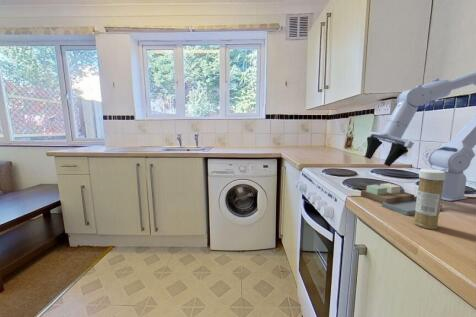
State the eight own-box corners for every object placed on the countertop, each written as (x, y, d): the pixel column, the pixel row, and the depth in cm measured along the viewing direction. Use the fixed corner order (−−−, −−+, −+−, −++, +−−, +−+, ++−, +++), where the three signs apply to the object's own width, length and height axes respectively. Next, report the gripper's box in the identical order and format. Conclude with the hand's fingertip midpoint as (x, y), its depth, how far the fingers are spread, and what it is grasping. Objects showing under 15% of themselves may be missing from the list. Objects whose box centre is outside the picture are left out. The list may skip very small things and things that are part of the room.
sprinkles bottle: (440, 226, 53) (448, 170, 51) (433, 231, 51) (442, 173, 49) (416, 219, 57) (424, 167, 55) (409, 224, 54) (416, 169, 52)
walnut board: (386, 192, 79) (387, 187, 79) (413, 201, 71) (414, 194, 71) (360, 195, 76) (361, 190, 75) (385, 205, 67) (386, 198, 67)
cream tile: (388, 188, 77) (388, 183, 77) (399, 192, 74) (400, 186, 73) (379, 189, 76) (380, 184, 76) (391, 193, 72) (391, 187, 72)
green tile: (375, 190, 75) (375, 184, 75) (386, 193, 72) (387, 187, 71) (366, 191, 74) (366, 185, 74) (377, 195, 70) (377, 188, 70)
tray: (414, 201, 71) (415, 197, 71) (441, 209, 64) (442, 205, 64) (381, 206, 66) (382, 202, 66) (406, 215, 60) (407, 211, 59)
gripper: (371, 116, 79) (352, 151, 82) (412, 123, 66) (388, 165, 68) (383, 123, 82) (365, 157, 84) (425, 132, 69) (402, 171, 71)
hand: (376, 161), depth 77 cm, fingers open, 7 cm apart
